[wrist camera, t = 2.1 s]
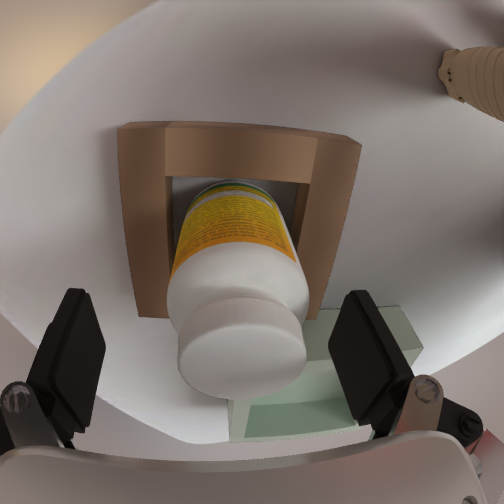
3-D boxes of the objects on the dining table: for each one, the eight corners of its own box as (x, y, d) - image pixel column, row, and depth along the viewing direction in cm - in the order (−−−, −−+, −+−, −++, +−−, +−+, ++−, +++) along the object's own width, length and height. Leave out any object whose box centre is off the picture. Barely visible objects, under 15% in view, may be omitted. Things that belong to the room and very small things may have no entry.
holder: (346, 135, 15) (361, 145, 13) (309, 299, 20) (315, 319, 19) (129, 122, 13) (117, 129, 12) (144, 295, 19) (138, 316, 17)
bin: (399, 305, 22) (423, 347, 18) (350, 393, 29) (361, 428, 25) (234, 309, 20) (238, 363, 17) (227, 402, 27) (229, 442, 24)
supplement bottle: (295, 238, 18) (346, 378, 10) (215, 276, 19) (216, 421, 11) (253, 158, 15) (292, 276, 7) (165, 207, 16) (119, 349, 8)
